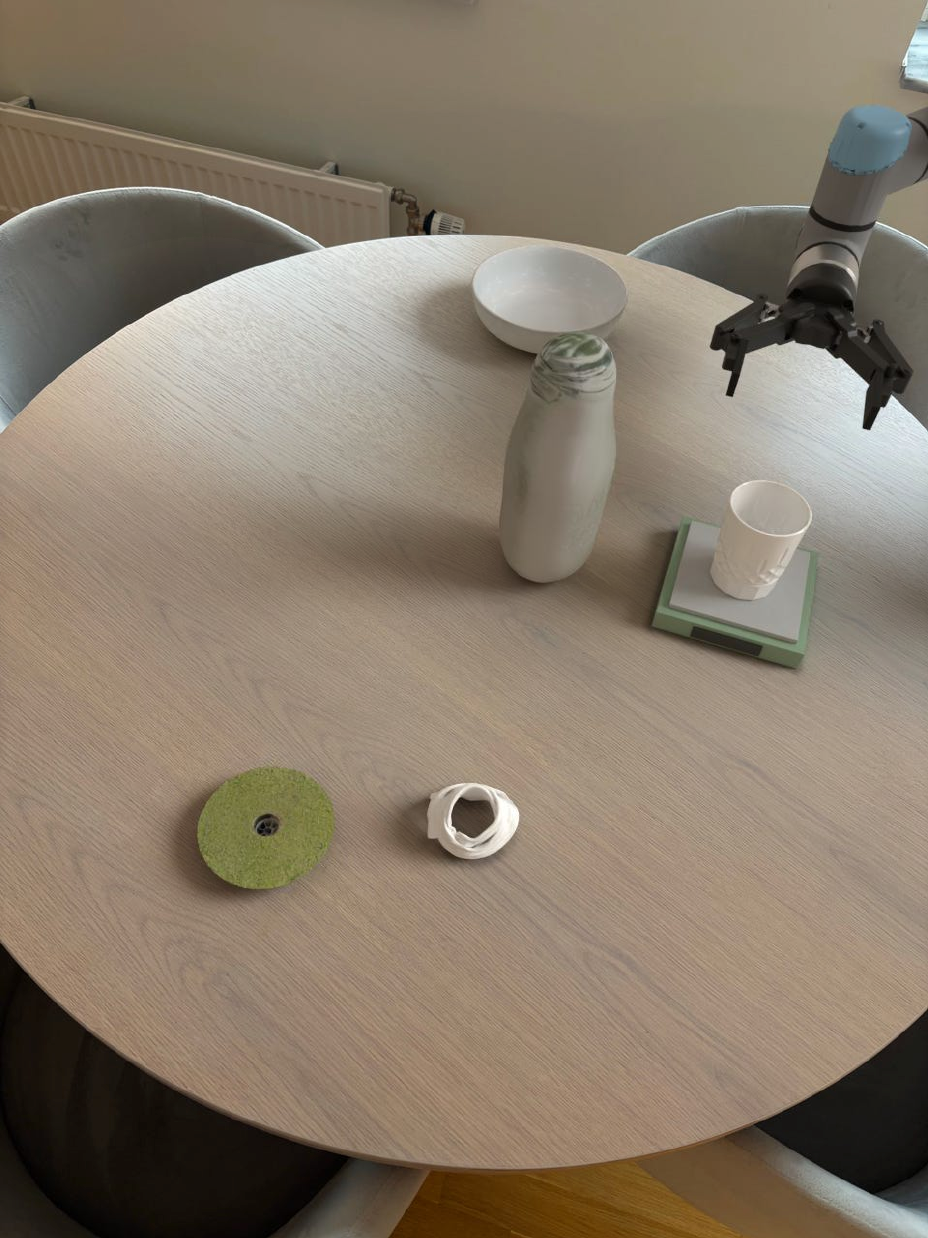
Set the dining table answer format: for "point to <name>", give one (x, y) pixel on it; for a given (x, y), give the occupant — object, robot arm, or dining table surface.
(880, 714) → the dining table surface
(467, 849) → the white rolled strap
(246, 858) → the green abrasive disc
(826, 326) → the robot arm
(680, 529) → the kitchen scale
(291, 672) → the dining table surface
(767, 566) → the white cup
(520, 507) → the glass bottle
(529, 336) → the serving bowl
